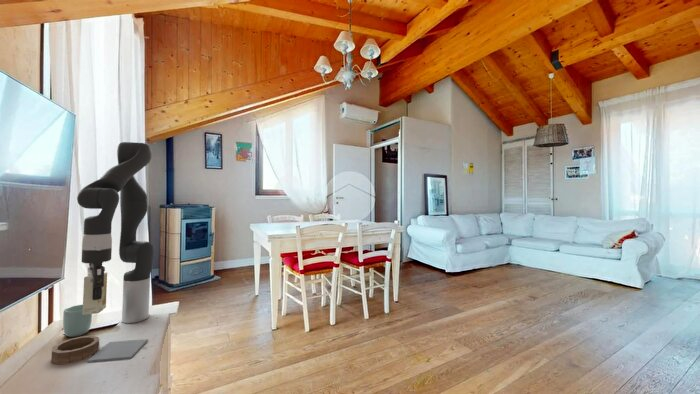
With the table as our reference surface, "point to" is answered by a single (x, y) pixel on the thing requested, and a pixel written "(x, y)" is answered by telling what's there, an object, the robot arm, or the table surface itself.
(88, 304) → the skincare box
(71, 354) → the holder ring
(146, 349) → the table surface
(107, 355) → the mat
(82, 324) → the cup
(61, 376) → the table surface
